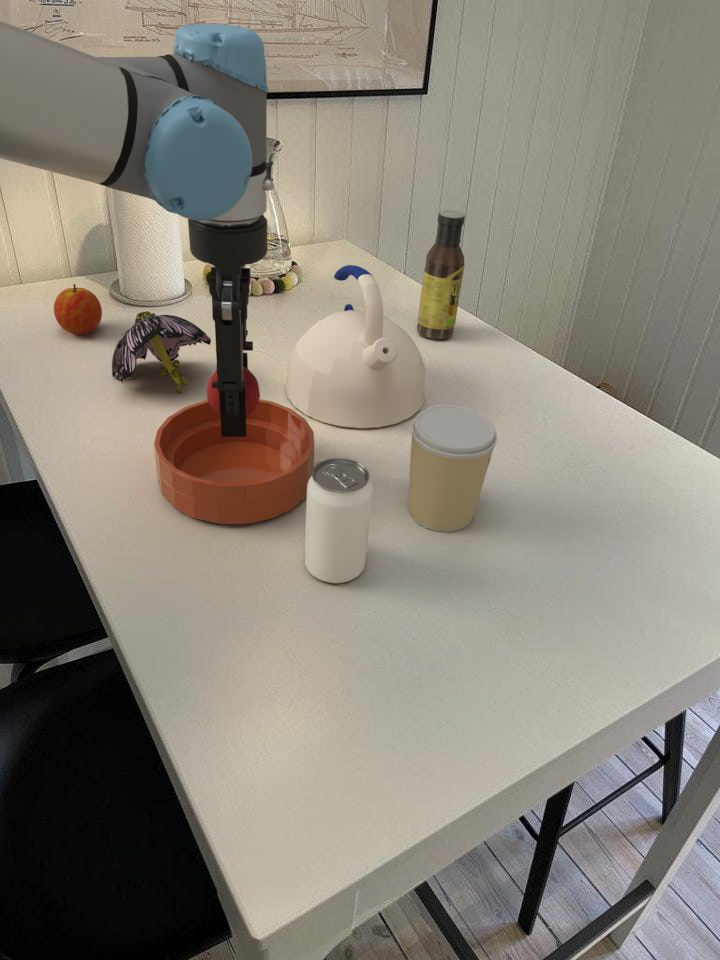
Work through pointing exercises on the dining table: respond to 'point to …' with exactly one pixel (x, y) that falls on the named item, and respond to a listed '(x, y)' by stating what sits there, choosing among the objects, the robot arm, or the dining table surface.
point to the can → (337, 520)
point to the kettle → (357, 365)
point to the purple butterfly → (155, 344)
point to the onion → (250, 392)
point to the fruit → (77, 310)
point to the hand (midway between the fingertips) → (235, 418)
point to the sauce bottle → (442, 279)
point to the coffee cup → (448, 465)
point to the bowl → (234, 463)
